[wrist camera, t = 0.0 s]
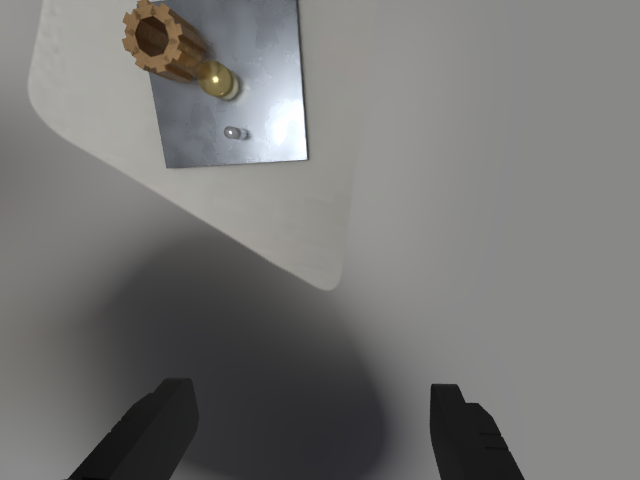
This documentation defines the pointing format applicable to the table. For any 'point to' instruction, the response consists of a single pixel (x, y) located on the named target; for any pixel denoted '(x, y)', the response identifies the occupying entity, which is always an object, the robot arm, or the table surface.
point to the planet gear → (163, 42)
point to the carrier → (236, 87)
